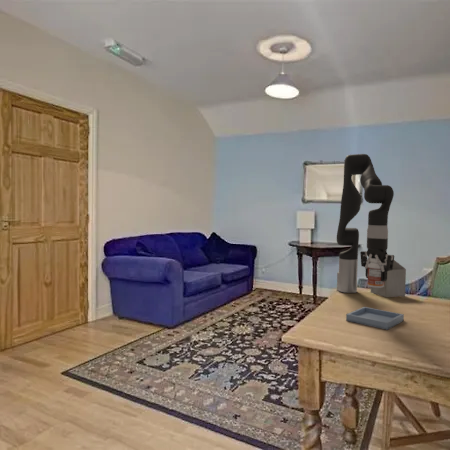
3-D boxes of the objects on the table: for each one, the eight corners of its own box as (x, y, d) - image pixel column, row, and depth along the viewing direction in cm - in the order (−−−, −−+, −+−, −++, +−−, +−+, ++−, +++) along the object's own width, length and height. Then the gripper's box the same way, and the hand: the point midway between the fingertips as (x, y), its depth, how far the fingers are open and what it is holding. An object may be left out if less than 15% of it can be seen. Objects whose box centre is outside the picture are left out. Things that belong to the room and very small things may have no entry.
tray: (346, 320, 152) (346, 314, 151) (364, 312, 163) (364, 306, 163) (387, 329, 140) (387, 323, 140) (403, 320, 152) (403, 314, 152)
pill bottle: (372, 283, 155) (373, 256, 155) (387, 286, 151) (388, 258, 150) (364, 285, 152) (365, 257, 151) (379, 288, 147) (379, 259, 146)
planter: (367, 295, 195) (368, 256, 194) (370, 292, 202) (372, 255, 201) (403, 299, 187) (404, 259, 186) (405, 296, 193) (406, 257, 192)
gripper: (355, 235, 154) (354, 277, 155) (387, 238, 142) (385, 284, 143) (368, 235, 158) (367, 275, 159) (400, 238, 146) (398, 282, 147)
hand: (376, 279), depth 151 cm, fingers closed on pill bottle, 6 cm apart
